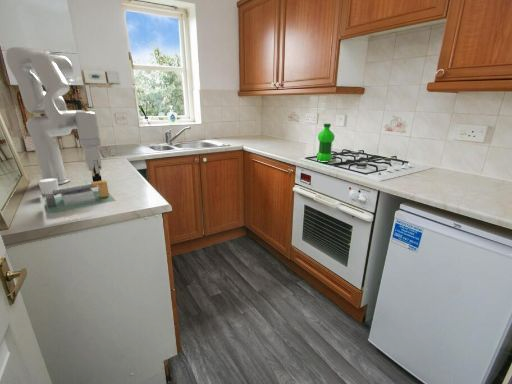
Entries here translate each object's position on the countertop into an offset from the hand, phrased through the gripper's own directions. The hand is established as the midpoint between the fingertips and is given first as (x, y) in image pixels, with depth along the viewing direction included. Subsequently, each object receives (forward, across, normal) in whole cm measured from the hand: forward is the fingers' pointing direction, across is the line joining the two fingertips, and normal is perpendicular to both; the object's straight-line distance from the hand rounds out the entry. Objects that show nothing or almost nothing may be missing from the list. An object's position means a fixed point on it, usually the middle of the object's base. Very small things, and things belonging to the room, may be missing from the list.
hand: (97, 184), depth 121 cm
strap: (-1, +9, -9) cm, 13 cm away
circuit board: (+4, +9, -8) cm, 13 cm away
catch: (+2, +10, -1) cm, 10 cm away
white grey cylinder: (+5, -10, -17) cm, 20 cm away
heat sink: (+3, +9, -11) cm, 15 cm away
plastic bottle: (+4, +18, +131) cm, 133 cm away
